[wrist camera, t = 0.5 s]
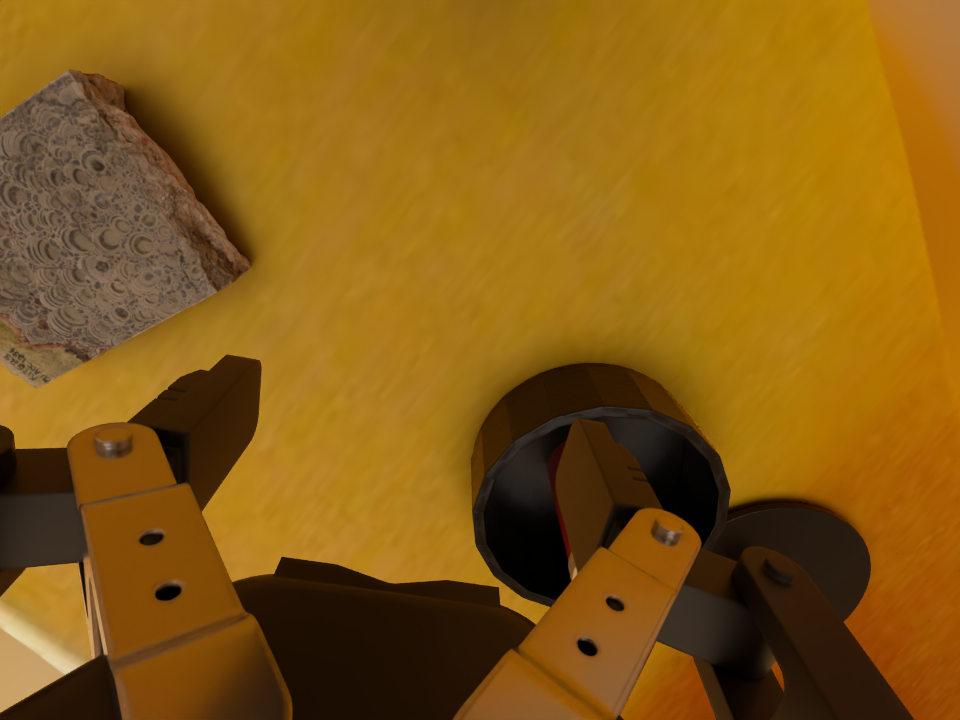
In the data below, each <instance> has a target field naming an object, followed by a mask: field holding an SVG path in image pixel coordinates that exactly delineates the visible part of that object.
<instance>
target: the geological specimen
mask: <svg viewBox="0 0 960 720" xmlns="http://www.w3.org/2000/svg"><path fill="white" fill-rule="evenodd" d="M124 95H125V93H124V89H123V86H122V85H119V84H118V83H116V82H114V81H110V80H108V79H105V77H104V76H102V75H99V74H84V73H82V72H81V71H76V70H68V71H67V72H65V73H64V74H62V75H61V76H59V77H58V78H56V79H55V80H53V81H52V82H50V83H49V84H47V85H46V86H45V87H43V88H42V89H40V90H39V91H37V92H36V93H34V94H33V95H32V96H30V97H29V98H27V99H26V100H24V101H23V102H21V103H20V104H19V105H17V106H16V107H14V108H13V109H12V110H10V111H9V112H7V113H6V114H4V115H3V116H2V117H0V363H1V364H2V365H3V366H5V367H6V368H7V369H8V370H9V371H10V372H11V373H12V374H14V375H16V376H19V377H21V378H22V379H24V380H25V381H26V382H28V383H29V384H30V385H31V386H33V387H35V388H39V387H41V386H43V385H45V384H47V383H49V382H50V381H52V380H54V379H56V378H58V377H59V376H61V375H63V374H65V373H67V372H69V371H71V370H73V369H75V368H77V367H78V366H80V365H82V364H84V363H86V362H88V361H90V360H92V359H94V358H96V357H98V356H100V355H101V354H103V353H104V352H106V351H107V350H110V349H112V348H114V347H115V346H117V345H119V344H121V343H123V342H125V341H127V340H129V339H131V338H132V337H134V336H136V335H138V334H140V333H142V332H144V331H145V330H147V329H149V328H151V327H153V326H155V325H157V324H159V323H161V322H163V321H165V320H166V319H168V318H170V317H172V316H174V315H176V314H178V313H179V312H181V311H183V310H185V309H187V308H189V307H191V306H193V305H195V304H197V303H199V302H201V301H202V300H204V299H206V298H208V297H210V296H212V295H214V294H215V293H217V292H219V291H220V290H222V289H223V288H225V287H226V286H228V285H229V284H231V283H232V282H234V281H235V280H236V279H237V278H238V277H240V276H241V275H242V274H244V273H245V272H246V271H247V270H248V269H249V268H251V266H252V265H251V263H250V262H249V261H248V259H247V258H246V257H245V256H244V255H241V254H239V253H238V251H237V249H236V248H235V247H234V245H233V244H232V243H231V242H230V241H229V240H228V239H227V237H226V235H225V232H224V230H223V229H222V228H221V227H220V226H219V225H218V223H217V222H216V220H215V219H214V218H213V216H212V215H211V214H210V213H209V211H208V210H207V209H206V208H205V206H204V205H203V204H202V203H200V202H199V201H197V200H196V197H195V194H194V191H193V189H192V187H191V186H190V185H189V184H188V183H187V180H186V179H185V178H184V176H183V174H182V172H181V171H180V169H179V168H178V167H177V165H176V164H175V163H174V161H173V160H172V159H171V157H170V156H169V155H168V154H167V153H166V152H165V151H164V150H163V149H162V148H161V147H159V146H158V145H157V144H156V143H155V142H154V141H153V140H152V139H151V138H150V137H149V136H148V135H147V134H146V133H145V132H144V131H143V130H142V129H141V128H140V127H139V126H138V124H137V122H136V120H135V119H134V117H133V116H131V115H130V114H129V113H128V111H127V110H126V108H125V103H124Z"/></svg>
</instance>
